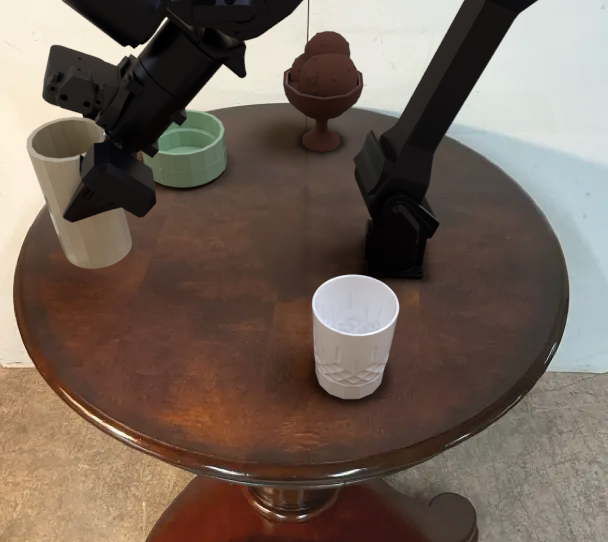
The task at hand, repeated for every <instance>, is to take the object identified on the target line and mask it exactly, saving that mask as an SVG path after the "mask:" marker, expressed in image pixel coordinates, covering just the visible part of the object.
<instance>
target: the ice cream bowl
mask: <svg viewBox="0 0 608 542" xmlns="http://www.w3.org/2000/svg"><path fill="white" fill-rule="evenodd" d="M363 75H364V74H363V72H361V71H360V70H358V68H357V67H356V65H355V62H354V61H353V59H352V58H351V49H350V42H349V41H347V39H346V37H344V36H343V35H342V34H341V33H339V32H337V31H334V30H333V31H332V30H324V31H319V32H316V33H315V34H314V35H313V36H312V37H311V38H310V39H309V40H308V41H306V43H305V44H304V51H303V53H301V54H300V55H298V56H297V57H295V58H294V61H292V64H291V67H289V68H288V69H285V70H284V71H283V76H282V86H283V91H284V95H285V97H286V99H287V101H288V103H289V104H290V105H291V106H293V107H294V108H295V109H296V110H298V112H300V113H302V114H303V115H304V116H305V117H306V118H307V117H308V118H309V119H312V120H315V128H312V129H309V130H308V131H306V132H305V133H304V134H303V135H302V146H304V147H305V148H306V149H308V150H309V151H312V152H319V153H324V152H330V151H331V152H332V151H333V150H335V149H337V148H338V147H339V146H340V145H341V143H340V136H339V134H338V133H336V132H335V131H334V130H333V129H329V128H328V125H329V124H328V122H329V120H333V119H337V118H338V117H340V116H342V115H343V114H345V113H346V112H347V111H349V110H350V109H351V108H352V107H353V106H355V105H356V104H357V102H358V101H359V100H360V98H361V96H362V93H363V89H364V76H363Z"/></svg>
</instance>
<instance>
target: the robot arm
mask: <svg viewBox="0 0 608 542" xmlns="http://www.w3.org/2000/svg"><path fill="white" fill-rule="evenodd" d="M538 1H539V0H463V1H462V3H461V5H460V7H459V8H458V10H457V12H456V14H455V16H454V17H453V20H452V22H451V23H450V25H449V26H448V29H447V31H446V32H445V34H444V36H443V37H442V40H441V41H440V43H439V45H438V47H437V48H436V51H435V52H434V54H433V56H432V58H431V60H430V62H429V63H428V65H427V67H426V69H425V71H424V73H423V74H422V76H421V78H420V80H419V82H418V84H417V85H416V87H415V89H414V91H413V93H412V95H411V96H410V98H409V100H408V102H407V103H406V105H405V107H404V109H403V111H402V113H401V114H400V116H399V118H398V120H397V121H396V123H395V124H394V125H393V126H391V127H390V128H389V129H387V130H386V131H384V132H382V134H381V133H379V132H377V131H375V130H373V129H371V130H368V131H369V132H368V133H367V134H366V137H365V140H364V143H363V145H362V147H361V149H360V151H359V152H358V153H357V154H356V155H355V156H354V157H353V158H352V161H353V163H354V165H355V167H354V172H353V176H354V180H355V182H356V184H357V187H358V190H359V192H360V195H361V197H362V199H363V202H364V204H365V206H366V209H367V212H368V214H369V216H370V218H371V219H369V218H368V219H367V220H366V221H365V230H364V242H363V260H364V262H367V263H366V266H367V267H366V268H367V269H366V271H367V272H366V274H367V275H368V276H369V277H371V276H372V277H388V278H389V277H390V278H405V279H406V278H407V279H409V278H410V279H422V278H424V277H425V266H424V265H425V264H424V259H425V254H426V248H427V242H428V240H430V239H432V238H433V237H434V236H435V233H436V232H437V231H438V228H439V227H440V221H439V220H438V217H437V215H436V214H435V212H434V210H433V208H432V206H431V203H430V202H429V199H428V198H427V195H426V194H427V192H428V190H429V187H430V185H431V181H432V180H431V179H432V173H433V167H434V160H435V154H436V151H437V149H438V147H439V146H440V144H441V143H442V141H443V139H444V137H446V134H447V133H448V131H449V129H450V128H451V126H452V124H453V122H454V121H455V119H456V118H457V116H458V115H459V113H460V111H461V109H462V108H463V106H464V104H465V103H466V101H467V100H468V98H469V96H470V94H471V93H472V91H473V90H474V88H475V87H476V84H477V83H478V82H479V80H480V78H481V77H482V75H483V73H484V71H485V70H486V68H487V66H488V65H489V63H490V61H491V60H492V58H493V57H494V55H495V53H496V52H497V50H498V49H499V47H500V46H501V43H502V42H503V40H504V39H505V37H506V35H507V33H508V32H509V30H510V29H511V27H512V25H513V24H514V23H515V20H516V19H517V18H518V16H519V15H521V14H522V13H523V12H524V11H525V10H527V9H528V8H530V7H531V6H532V5H534V4H535V3H537V2H538ZM61 2H63V3H64V4H65V5H67V6H68V7H69V8H70V9H72V10H73V11H75V12H76V13H77V14H79V15H80V16H81V17H82V18H84V19H85V20H86V21H88V22H89V23H90V24H92V25H93V26H94V27H96V28H97V29H98V30H99V31H101V32H103V33H104V34H105V35H106V36H107V37H109V38H110V39H112V40H113V41H114V42H116V43H117V44H118V45H119V46H121V47H123V48H126V47H130V48H132V49H133V50H135V49H137V48H138V47H139V46H143V45H145V44H146V45H145V46H144V48H143V49H142V50H141V52H140V53H139V54H138V55H137V57H136V56H135V55H133V54H132V53H130V54H129V55H128V56H127V55H124V56H123V57H122V59H121V60H120V61H119V62H118V63H117V64H113V63H111V62H108V61H105V60H104V59H102V58H100V57H98V56H95V55H92V54H89V53H85V52H83V51H81V50H80V51H79V50H78V49H77V50H76V49H73V48H70V47H67V46H64V45H62V44H52V45H51V46H50V48H49V53H48V57H47V61H46V66H45V72H44V75H43V83H42V92H41V97H42V99H43V100H44V101H45V102H46V103H48V104H49V105H52V106H55V107H59V108H60V109H63V110H67V111H70V112H73V113H77V114H80V115H82V118H89V119H91V120H94V121H95V124H96V125H98V126H99V127H101V128H103V136H104V137H106V138H107V139H108V142H99V143H93V145H92V146H91V147H90V148H89V150H88V151H87V152H86V155H85V157H84V156H82V155H81V154H80V158H79V173H80V176H81V182H80V184H79V186H78V188H77V189H76V191H75V193H74V195H73V196H72V198H71V200H70V202H69V204H68V205H67V207H66V209H65V211H64V213H63V218H64V219H65V220H67V221H69V222H71V223H74V222H77V221H80V220H83V219H86V218H88V217H91V216H94V215H97V214H100V213H104V212H107V211H110V210H114V209H118V208H123V209H125V211H126V212H129V214H131V215H133V216H135V217H137V218H138V219H139V218H144V217H146V215H147V214H149V212H150V211H151V210H152V209H153V208H154V207H155V206H156V205H157V195H156V194H157V193H156V184H155V182H156V181H154V176H153V171H152V168H150V167H149V166H147V165H146V164H144V162H142V161H141V160H139V153H140V152H141V153H142V152H144V153H145V154H147V155H148V156H150V157H151V158H153V157H154V156H155V155H156V154H157V153H158V151H159V146H158V139H159V138H160V137H161V136H162V134H163V133H164V132H165V131H166V130H167V129H168V128H169V126H170V125H171V124H172V123H173V122H174V123H176V124H177V125H179V126H181V125H182V124H183V123H184V122H185V120H186V119H187V115H186V110H187V109H186V108H187V107H188V106H189V104H191V103H192V101H193V100H194V99H195V98H196V96H197V95H199V93H200V92H201V91H202V89H204V87H205V86H206V85H207V84H208V82H209V81H210V80H211V79H212V78H213V77H214V76H215V74H217V72H218V71H219V70H220V69H221V68H222V66H224V67H226V68H227V69H228V70H229V71H231V72H232V73H233V74H234V75H235V76H237V77H238V78H239V79H244V78H246V77H247V69H246V51H247V44H246V42H248V41H251V40H254V39H258V38H260V37H261V36H262V35H264V34H265V33H266V32H268V31H269V30H271V29H273V28H274V27H275V26H277V25H278V24H279V23H281V22H282V21H283V20H285V19H286V18H288V17H289V16H291V15H292V14H293V13H294V12H295V11H296V10H297V8H298V7H299V6H300V5H301V4H302V2H304V0H61ZM165 19H166V20H165ZM164 20H165V21H164ZM162 23H163V24H162Z"/></svg>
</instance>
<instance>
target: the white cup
mask: <svg viewBox="0 0 608 542" xmlns="http://www.w3.org/2000/svg"><path fill="white" fill-rule="evenodd" d="M311 311H312V341H313V355H314V362H315V364H314V365H315V375H316V378H317V381H318V384H319V386H320V387H321V388H322V389H323V390H324V391H326V392H327V393H328V394H329V395H331V396H334V397H337V398H339V399H342V400H360V399H362V398H365V397H367V396H370V395H372V394H373V393H374V392H375V391H376V390H377V389H378V388H379V387H380V385H382V381H383V376H384V371H385V368H386V365H387V363H388V359H389V357H390V352H391V348H392V344H393V340H394V335H395V330H396V326H397V322H398V317H399V312H400V302H399V299H398V297H397V295H396V293H395V292H394V291H393V290H392V289H391V288H390V286H388V285H387V284H386V283H384V282H383V281H381V280H379V279H376V278H374V277H371V276H369V275H368V276H367V275H361V274H345V275H339V276H335V277H332V278H330V279H328V280H327V281H325V282H323V283H322V284H320V285H319V287H317V289H316V290H315V292H314V294H313V296H312V300H311Z"/></svg>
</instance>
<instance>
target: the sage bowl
mask: <svg viewBox="0 0 608 542" xmlns="http://www.w3.org/2000/svg"><path fill="white" fill-rule="evenodd" d="M186 115H187V119H186V120H185V122H184V123H183V124H182V125H181V126H179V125H177V124H176V123H174V122H173V123H172V124H171V125H170V126H169V128H168V129H167V130H166V131H165V132H164V133H163V134H162V136H161V137H160V138H159V139H158V146H159V151H158V153H157V154H156V155H155V156H154V157H153V158H151V157H150V156H148V155H147V154H145V153H144V152H142V151H141V154H142V161H143V163H144V164H146V165H147V166H149V167H150V168H152V171H153V176H154V182H156V183H158V184H161V185H163V186H165V187H166V186H168V187H172V188H194V187H198V186H203V185H205V184H208V183H210V182H212V181H213V180H215V179H217V178H218V177H220V176H221V174H223V173H224V171H225V170H226V166H227V165H228V164H227V163H228V154H227V144H226V143H227V142H226V132H225V130H226V129H225V127H224V124H223V122H222V121H221V120H220V119H219V118H218V117H216V116H215V115H213V114H211V113H208V112H206V111H203V110H196V109H186Z"/></svg>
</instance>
